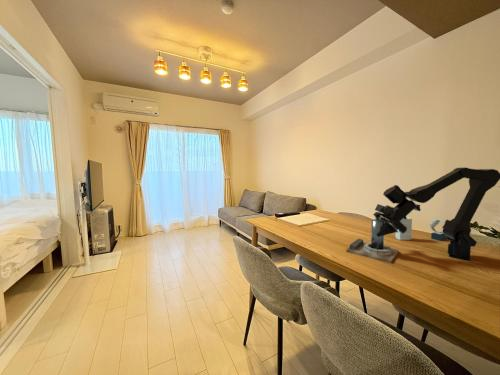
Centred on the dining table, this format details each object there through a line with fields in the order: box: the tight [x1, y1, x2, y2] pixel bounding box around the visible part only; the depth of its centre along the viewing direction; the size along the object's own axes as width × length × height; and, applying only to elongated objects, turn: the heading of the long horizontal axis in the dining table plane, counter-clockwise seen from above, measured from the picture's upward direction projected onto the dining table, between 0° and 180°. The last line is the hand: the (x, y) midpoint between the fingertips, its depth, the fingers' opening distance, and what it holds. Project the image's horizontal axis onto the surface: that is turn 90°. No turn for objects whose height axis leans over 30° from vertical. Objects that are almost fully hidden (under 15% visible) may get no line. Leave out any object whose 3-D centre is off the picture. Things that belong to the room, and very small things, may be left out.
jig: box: [345, 238, 400, 264], centre depth 98 cm, size 18×16×3 cm
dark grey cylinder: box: [370, 218, 385, 250], centre depth 95 cm, size 5×5×13 cm
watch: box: [429, 218, 448, 242], centre depth 112 cm, size 6×8×11 cm
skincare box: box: [395, 216, 413, 241], centre depth 114 cm, size 6×4×12 cm
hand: (374, 234), depth 96 cm, fingers closed on dark grey cylinder, 5 cm apart
